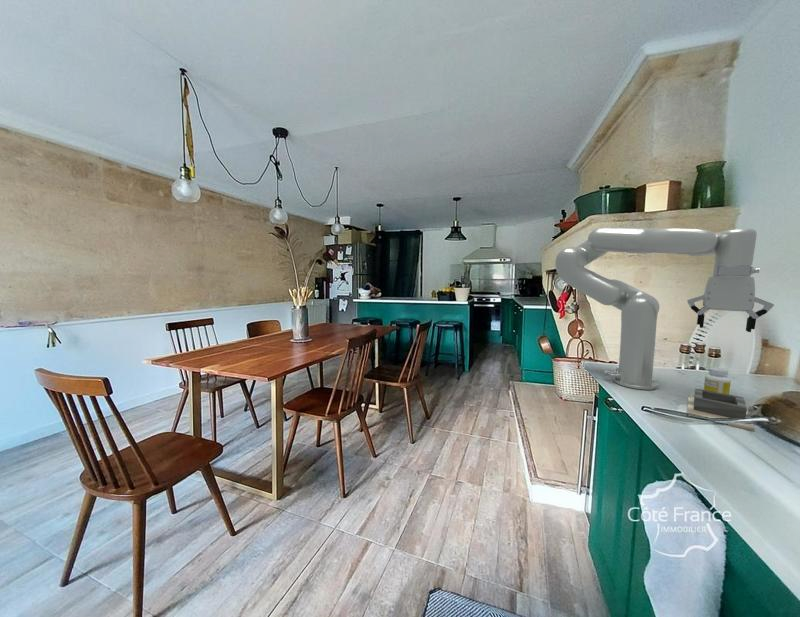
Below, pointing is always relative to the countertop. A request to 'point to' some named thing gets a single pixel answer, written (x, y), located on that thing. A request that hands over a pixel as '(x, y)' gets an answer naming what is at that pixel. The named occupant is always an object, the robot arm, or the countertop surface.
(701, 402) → the holder board
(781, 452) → the countertop surface
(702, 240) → the robot arm
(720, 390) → the supplement bottle
